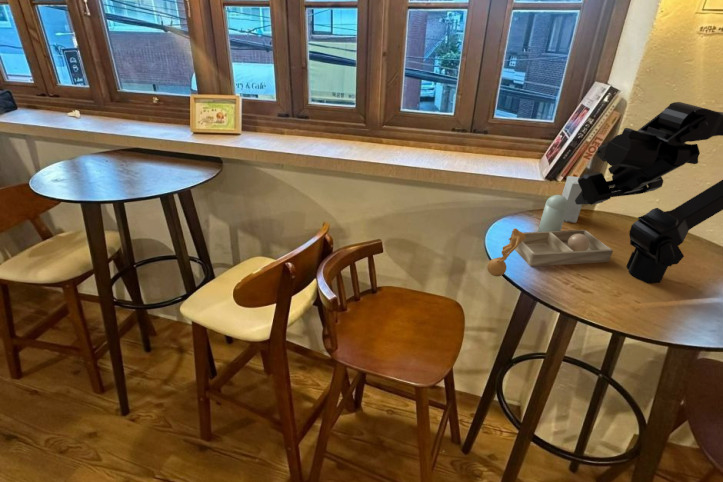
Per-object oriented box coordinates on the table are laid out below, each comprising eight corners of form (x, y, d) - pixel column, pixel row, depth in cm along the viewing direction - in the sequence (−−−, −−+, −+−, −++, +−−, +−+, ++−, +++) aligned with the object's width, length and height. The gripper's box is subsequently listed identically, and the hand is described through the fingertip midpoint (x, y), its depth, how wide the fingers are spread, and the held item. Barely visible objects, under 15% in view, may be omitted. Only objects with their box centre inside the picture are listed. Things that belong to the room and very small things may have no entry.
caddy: (607, 264, 95) (613, 250, 93) (529, 269, 92) (533, 254, 90) (580, 242, 103) (585, 229, 101) (508, 246, 100) (511, 233, 98)
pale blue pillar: (562, 241, 104) (575, 199, 98) (543, 242, 103) (556, 200, 97) (550, 231, 108) (563, 191, 102) (533, 232, 107) (544, 191, 102)
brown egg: (590, 255, 96) (596, 239, 94) (572, 256, 95) (578, 239, 93) (578, 246, 100) (583, 229, 98) (561, 247, 99) (566, 230, 97)
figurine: (488, 263, 93) (499, 216, 87) (515, 269, 91) (528, 222, 85) (483, 282, 86) (494, 233, 80) (512, 289, 84) (526, 239, 78)
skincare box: (576, 225, 112) (589, 185, 106) (559, 223, 113) (572, 183, 107) (570, 216, 117) (583, 177, 111) (555, 214, 118) (567, 175, 112)
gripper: (665, 124, 83) (607, 162, 98) (595, 136, 78) (545, 174, 92) (692, 171, 80) (628, 203, 95) (620, 187, 75) (564, 218, 90)
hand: (592, 198), depth 93 cm, fingers open, 9 cm apart
